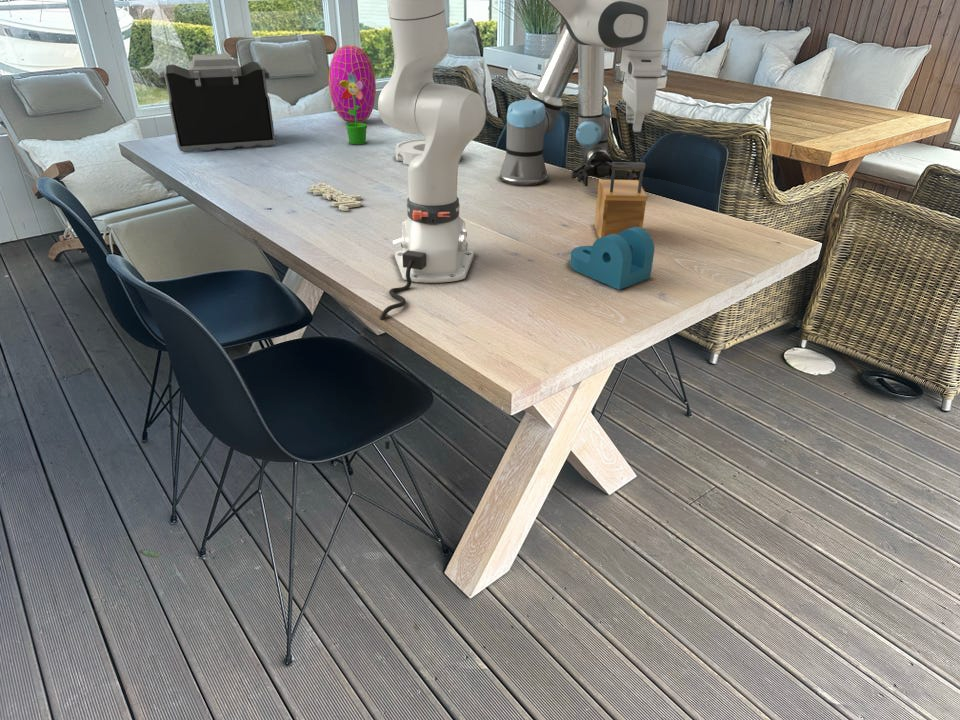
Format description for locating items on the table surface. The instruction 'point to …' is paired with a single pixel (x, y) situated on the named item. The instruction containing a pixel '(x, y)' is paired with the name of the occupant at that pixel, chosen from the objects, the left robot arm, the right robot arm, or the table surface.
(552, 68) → the right robot arm
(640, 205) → the chest
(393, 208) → the table surface
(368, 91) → the decorative egg
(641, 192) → the lid
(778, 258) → the table surface
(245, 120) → the electronic device
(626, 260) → the blue clevis bracket
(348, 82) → the potted flower
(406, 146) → the ashtray
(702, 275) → the table surface
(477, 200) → the table surface
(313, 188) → the decorative sign
